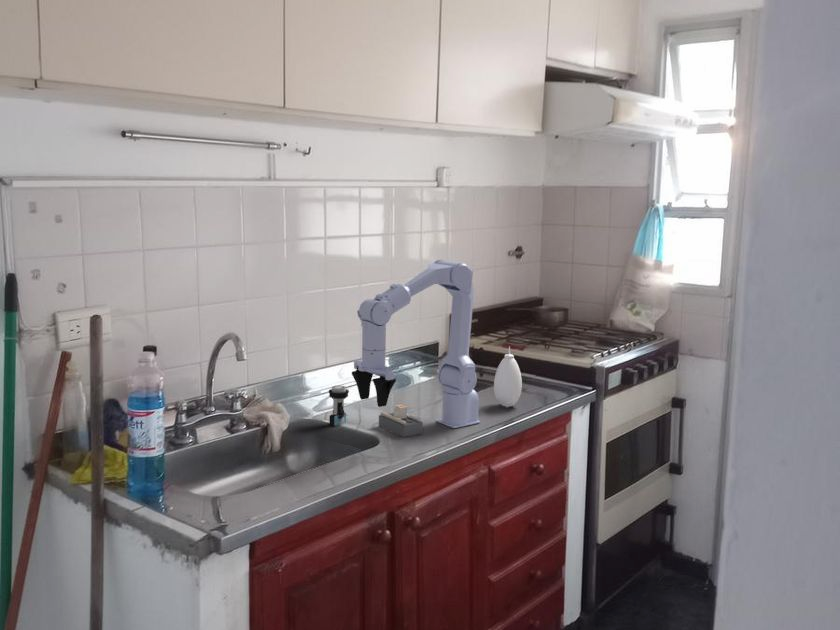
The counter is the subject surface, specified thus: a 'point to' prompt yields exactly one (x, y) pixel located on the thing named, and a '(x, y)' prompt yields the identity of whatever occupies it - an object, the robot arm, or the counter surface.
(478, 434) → the counter surface
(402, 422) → the grey shallow tray
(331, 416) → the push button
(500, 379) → the air blower bulb
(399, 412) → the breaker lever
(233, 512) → the counter surface
